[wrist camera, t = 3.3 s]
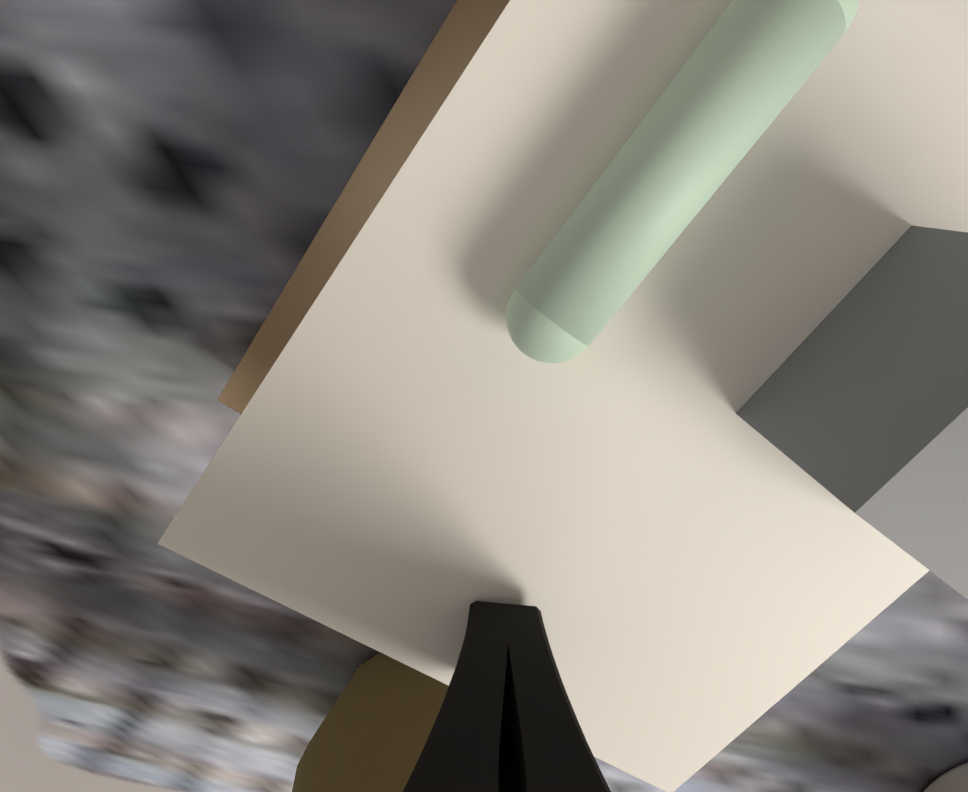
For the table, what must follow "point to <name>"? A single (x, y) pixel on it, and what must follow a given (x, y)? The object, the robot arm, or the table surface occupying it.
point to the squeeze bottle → (372, 730)
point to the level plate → (636, 364)
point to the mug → (951, 780)
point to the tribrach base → (366, 187)
